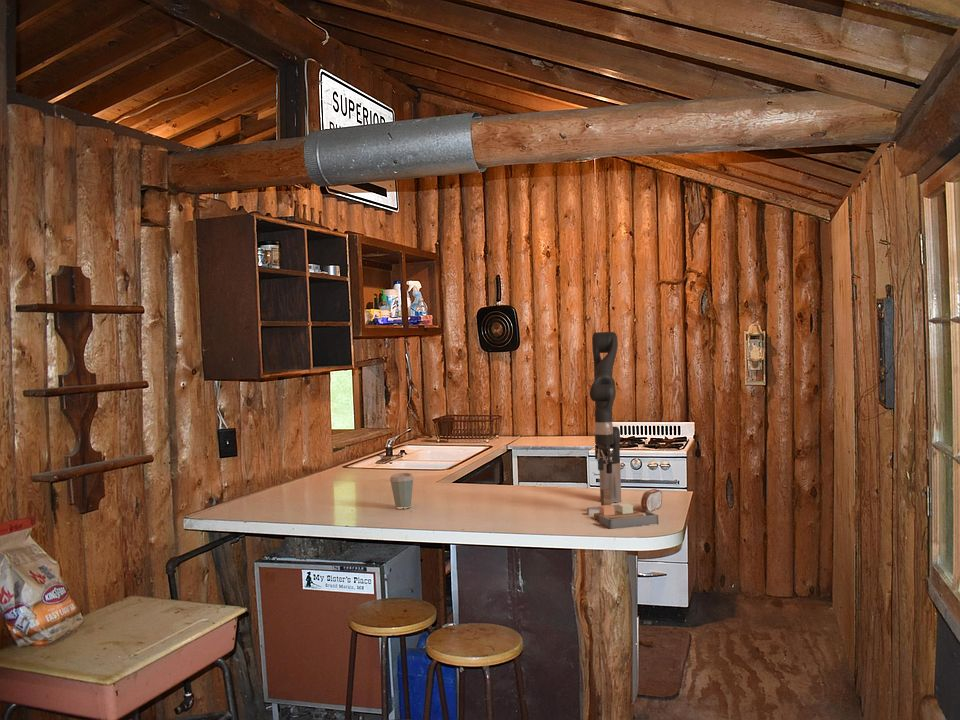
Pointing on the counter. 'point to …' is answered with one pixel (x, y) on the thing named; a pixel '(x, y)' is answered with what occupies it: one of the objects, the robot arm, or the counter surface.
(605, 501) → the cube on grey rod
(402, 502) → the disposable coffee cup
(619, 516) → the walnut board
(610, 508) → the salmon pink cube
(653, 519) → the box
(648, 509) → the tin
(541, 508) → the counter surface
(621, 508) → the cream block
